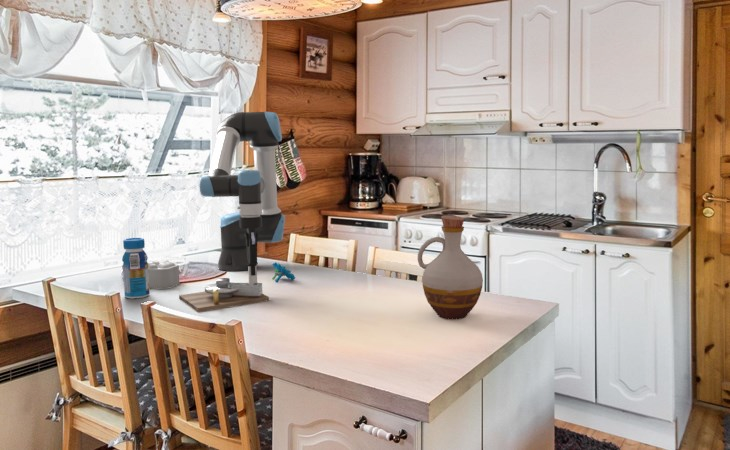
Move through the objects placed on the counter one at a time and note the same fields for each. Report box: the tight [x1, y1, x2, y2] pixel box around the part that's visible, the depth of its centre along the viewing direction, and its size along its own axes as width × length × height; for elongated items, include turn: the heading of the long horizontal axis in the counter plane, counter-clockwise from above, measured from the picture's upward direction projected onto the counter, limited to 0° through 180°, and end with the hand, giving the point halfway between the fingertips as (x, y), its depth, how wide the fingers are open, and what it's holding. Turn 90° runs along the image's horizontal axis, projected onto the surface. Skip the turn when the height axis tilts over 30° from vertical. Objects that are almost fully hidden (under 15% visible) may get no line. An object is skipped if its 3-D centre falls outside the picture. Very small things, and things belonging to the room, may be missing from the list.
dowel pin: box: [213, 290, 219, 305], centre depth 192 cm, size 2×2×4 cm
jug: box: [417, 215, 484, 321], centre depth 179 cm, size 20×18×30 cm
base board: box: [178, 291, 270, 313], centre depth 202 cm, size 20×24×3 cm
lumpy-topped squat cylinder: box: [147, 259, 180, 290], centre depth 225 cm, size 10×13×9 cm
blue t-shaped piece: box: [271, 262, 296, 283], centre depth 229 cm, size 11×6×10 cm
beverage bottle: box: [121, 237, 151, 300], centre depth 207 cm, size 8×8×20 cm
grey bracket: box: [204, 277, 263, 296], centre depth 202 cm, size 19×12×5 cm, turn 83°
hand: (253, 284), depth 207 cm, fingers closed
